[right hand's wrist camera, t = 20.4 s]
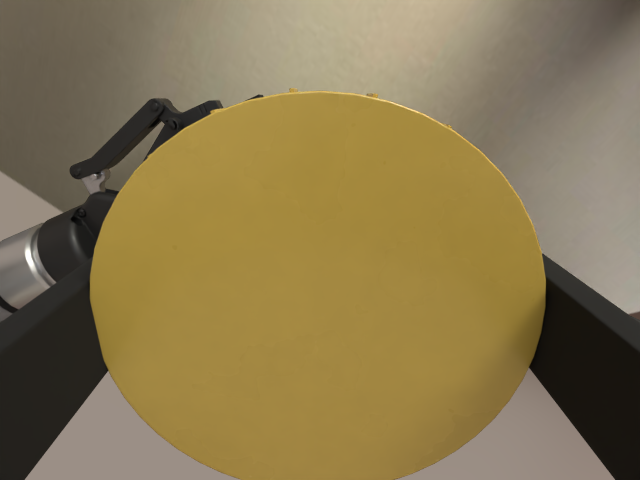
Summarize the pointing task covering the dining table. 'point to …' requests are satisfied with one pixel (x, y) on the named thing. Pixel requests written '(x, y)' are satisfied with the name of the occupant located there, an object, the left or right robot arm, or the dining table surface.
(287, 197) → the lid
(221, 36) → the dining table surface
